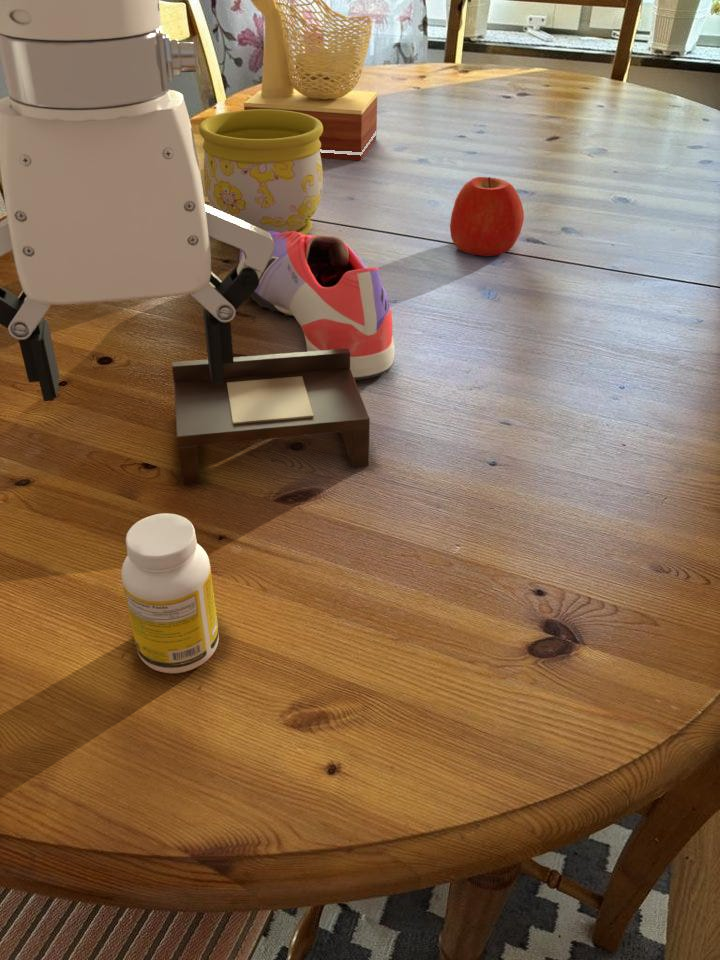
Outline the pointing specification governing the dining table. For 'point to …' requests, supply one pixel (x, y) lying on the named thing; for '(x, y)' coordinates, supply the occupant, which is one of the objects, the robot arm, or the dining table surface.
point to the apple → (486, 217)
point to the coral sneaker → (330, 299)
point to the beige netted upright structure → (318, 75)
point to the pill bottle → (169, 594)
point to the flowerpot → (264, 167)
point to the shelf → (268, 403)
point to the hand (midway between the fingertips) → (135, 381)
